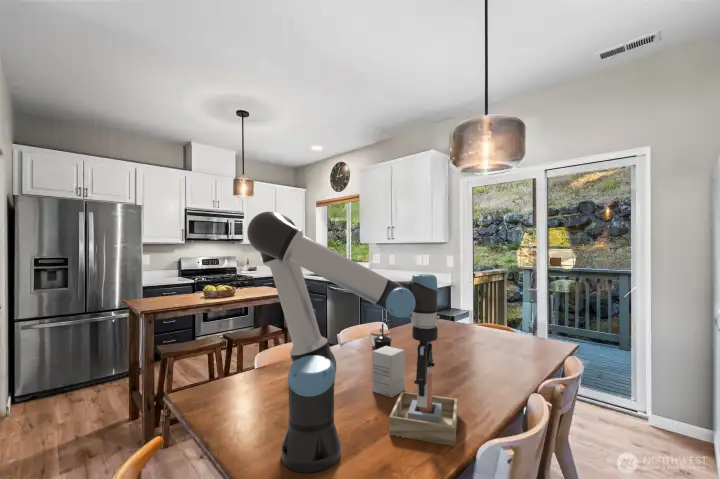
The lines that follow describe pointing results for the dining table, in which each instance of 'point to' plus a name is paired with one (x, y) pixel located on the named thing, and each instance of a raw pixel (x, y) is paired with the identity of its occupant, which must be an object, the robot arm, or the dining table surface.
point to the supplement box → (388, 371)
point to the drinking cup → (382, 341)
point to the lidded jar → (379, 334)
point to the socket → (423, 416)
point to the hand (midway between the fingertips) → (425, 396)
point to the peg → (428, 395)
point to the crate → (424, 429)
